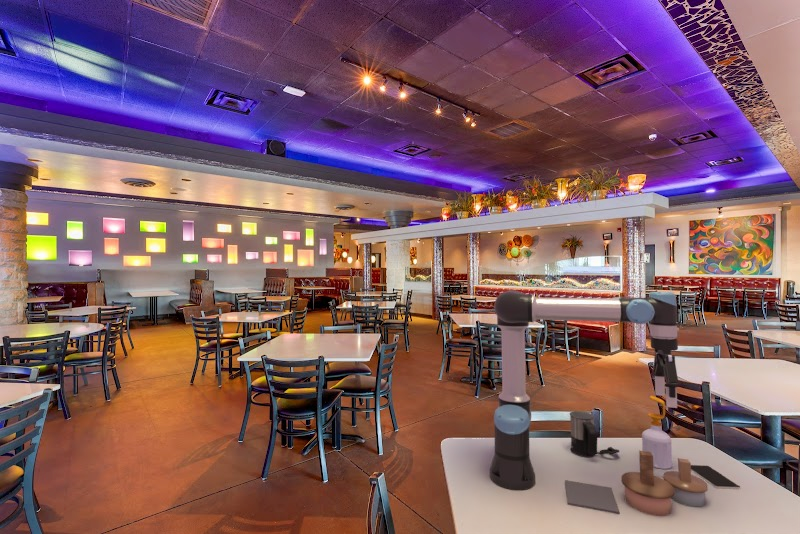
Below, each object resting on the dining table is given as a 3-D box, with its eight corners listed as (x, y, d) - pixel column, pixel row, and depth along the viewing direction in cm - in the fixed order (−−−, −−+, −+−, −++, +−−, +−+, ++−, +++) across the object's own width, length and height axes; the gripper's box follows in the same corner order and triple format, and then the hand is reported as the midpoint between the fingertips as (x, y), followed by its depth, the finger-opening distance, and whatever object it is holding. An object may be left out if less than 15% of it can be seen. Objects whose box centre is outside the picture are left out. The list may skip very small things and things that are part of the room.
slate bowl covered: (669, 503, 116) (668, 465, 116) (659, 485, 126) (658, 450, 127) (714, 511, 112) (713, 472, 113) (699, 491, 123) (698, 455, 123)
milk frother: (565, 448, 154) (564, 412, 155) (595, 443, 159) (595, 408, 160) (592, 465, 141) (591, 424, 141) (625, 458, 145) (624, 419, 146)
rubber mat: (567, 504, 116) (567, 502, 116) (565, 481, 129) (565, 479, 129) (619, 514, 111) (619, 512, 111) (611, 489, 124) (611, 487, 124)
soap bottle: (644, 455, 148) (642, 392, 149) (673, 462, 142) (671, 396, 143) (641, 464, 141) (639, 397, 142) (671, 472, 135) (669, 402, 136)
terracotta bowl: (629, 510, 113) (628, 492, 113) (621, 489, 124) (621, 473, 124) (677, 519, 108) (676, 500, 108) (664, 497, 120) (664, 480, 120)
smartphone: (708, 465, 139) (741, 487, 124) (708, 468, 139) (742, 490, 124) (685, 464, 139) (715, 486, 124) (685, 468, 139) (715, 489, 124)
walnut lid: (626, 493, 112) (625, 459, 113) (617, 472, 125) (617, 441, 125) (681, 502, 107) (680, 467, 108) (666, 479, 120) (665, 447, 121)
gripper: (689, 343, 115) (692, 414, 114) (666, 333, 138) (668, 391, 137) (660, 342, 118) (662, 411, 117) (642, 332, 141) (644, 389, 140)
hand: (665, 401), depth 127 cm, fingers open, 13 cm apart
